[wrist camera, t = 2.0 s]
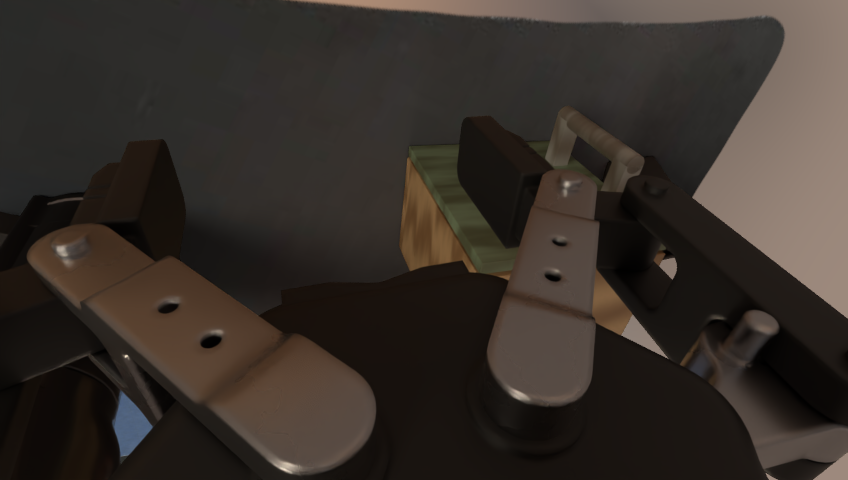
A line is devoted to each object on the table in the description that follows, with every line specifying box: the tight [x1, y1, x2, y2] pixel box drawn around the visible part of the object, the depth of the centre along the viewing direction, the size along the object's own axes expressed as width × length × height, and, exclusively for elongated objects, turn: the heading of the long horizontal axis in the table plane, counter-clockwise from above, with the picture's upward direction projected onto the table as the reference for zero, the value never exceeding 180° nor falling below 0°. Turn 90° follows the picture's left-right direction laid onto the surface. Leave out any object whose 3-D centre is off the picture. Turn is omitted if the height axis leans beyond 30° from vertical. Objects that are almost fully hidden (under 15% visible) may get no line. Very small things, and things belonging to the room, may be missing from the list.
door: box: [408, 106, 666, 274], centre depth 38 cm, size 6×16×18 cm, turn 83°
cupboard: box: [399, 157, 665, 335], centre depth 43 cm, size 11×16×18 cm
